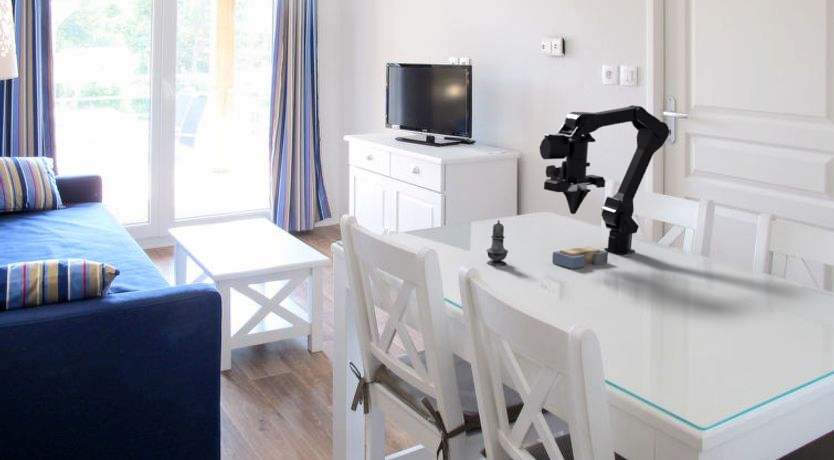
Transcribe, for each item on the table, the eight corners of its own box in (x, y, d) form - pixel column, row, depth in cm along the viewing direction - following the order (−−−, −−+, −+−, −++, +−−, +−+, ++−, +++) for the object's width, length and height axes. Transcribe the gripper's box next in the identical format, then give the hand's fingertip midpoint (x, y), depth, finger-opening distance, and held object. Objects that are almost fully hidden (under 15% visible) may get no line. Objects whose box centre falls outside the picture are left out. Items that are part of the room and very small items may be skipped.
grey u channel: (586, 257, 248) (587, 246, 248) (607, 262, 243) (607, 252, 242) (575, 259, 246) (576, 248, 245) (595, 265, 240) (596, 254, 239)
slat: (587, 260, 246) (588, 246, 245) (597, 264, 242) (598, 249, 241) (559, 264, 240) (560, 250, 240) (569, 268, 237) (570, 253, 236)
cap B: (564, 260, 243) (564, 249, 242) (584, 266, 237) (584, 255, 237) (552, 262, 241) (552, 252, 240) (572, 268, 235) (573, 257, 234)
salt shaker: (506, 267, 236) (508, 223, 233) (484, 265, 237) (486, 221, 234) (508, 261, 241) (510, 218, 239) (487, 260, 242) (489, 217, 240)
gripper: (578, 152, 255) (575, 205, 259) (531, 156, 245) (528, 212, 248) (608, 157, 247) (604, 212, 250) (560, 162, 236) (556, 219, 239)
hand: (572, 213), depth 247 cm, fingers closed
